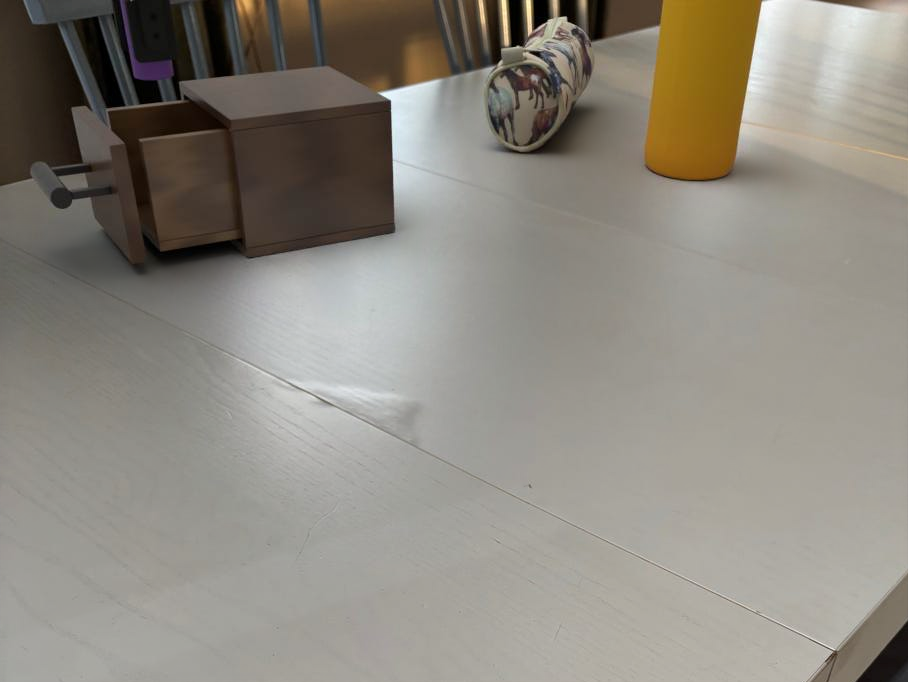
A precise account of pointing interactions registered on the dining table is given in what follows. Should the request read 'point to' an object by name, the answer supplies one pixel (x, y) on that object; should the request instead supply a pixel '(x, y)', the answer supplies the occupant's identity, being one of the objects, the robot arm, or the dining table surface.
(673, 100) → the yellow rounded cylinder
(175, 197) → the drawer
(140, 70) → the glue stick
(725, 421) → the dining table surface
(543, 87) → the pencil case
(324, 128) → the cabinet
